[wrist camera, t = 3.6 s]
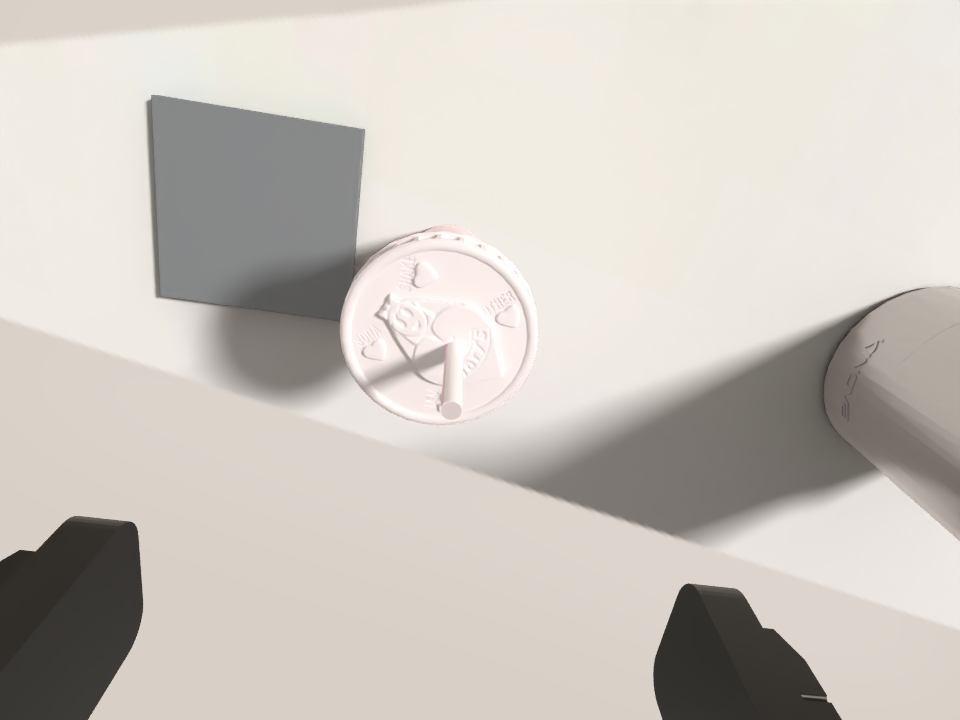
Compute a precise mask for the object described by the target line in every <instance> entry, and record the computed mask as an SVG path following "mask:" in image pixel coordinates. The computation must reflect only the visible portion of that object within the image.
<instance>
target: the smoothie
mask: <svg viewBox="0 0 960 720" xmlns="http://www.w3.org/2000/svg"><path fill="white" fill-rule="evenodd" d="M538 338H539V332H538V320H537V309H536V306H535V303H534V300H533V297H532V294H531V291H530V288H529V285H528V284H527V282H526V281H525V279H524V278H523V276H522V275H521V273H520V272H519V270H518V269H517V267H516V266H515V265H514V264H513V263H512V262H511V261H510V260H509V259H507V258H506V257H505V256H504V255H503V254H502V253H501V252H499V251H498V250H497V249H496V248H495V247H492V246H490V245H488V244H486V243H484V242H482V241H480V240H479V239H478V238H477V237H476V236H475V235H474V234H473V233H471V232H470V231H468V230H466V229H464V228H462V227H459V226H455V225H439V226H435V227H433V228H430V229H428V230H427V231H425V232H424V233H416V234H413V235H410V236H407V237H404V238H402V239H399V240H396V241H393V242H391V243H390V244H388V245H387V246H385V247H384V248H383V249H381V250H380V251H378V252H377V253H375V254H374V255H373V256H371V257H370V258H369V259H368V261H367V262H366V263H365V264H364V266H363V267H362V268H361V269H360V271H359V272H358V273H357V274H356V275H355V277H354V279H353V281H352V284H351V286H350V289H349V291H348V293H347V296H346V298H345V302H344V305H343V309H342V314H341V319H340V341H341V347H342V351H343V355H344V358H345V361H346V364H347V366H348V368H349V370H350V372H351V374H352V376H353V377H354V379H355V381H356V382H357V383H358V385H359V386H360V387H361V389H362V390H363V391H364V392H365V393H366V394H367V395H368V396H369V397H370V398H371V399H372V400H373V401H374V402H376V403H377V404H378V405H380V406H381V407H383V408H384V409H386V410H387V411H389V412H391V413H393V414H395V415H397V416H399V417H402V418H404V419H407V420H410V421H414V422H418V423H423V424H430V425H452V424H459V423H464V422H468V421H472V420H475V419H478V418H480V417H482V416H485V415H487V414H489V413H491V412H492V411H494V410H496V409H497V408H499V407H500V406H502V405H503V404H504V403H505V402H507V401H508V400H509V399H510V398H511V397H512V396H513V395H514V394H515V393H516V392H517V391H518V389H519V388H520V387H521V386H522V384H523V383H524V381H525V380H526V378H527V376H528V374H529V372H530V370H531V368H532V365H533V363H534V360H535V356H536V352H537V347H538Z"/></svg>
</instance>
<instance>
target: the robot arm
mask: <svg viewBox="0 0 960 720" xmlns="http://www.w3.org/2000/svg"><path fill="white" fill-rule="evenodd" d="M824 403H825V408H826V413H827V415H828V418H829V420H830V422H831V424H832V426H833V427H834V429H835V430H836V431H837V432H838V433H839V434H840V435H841V436H842V437H843V439H845V440H846V441H847V442H848V443H849V444H850V445H851V446H853V447H854V448H855V449H856V450H857V451H858V452H859V453H861V454H862V455H863V456H864V457H865V458H866V459H867V460H869V461H870V462H871V463H872V464H873V465H874V466H875V467H877V468H878V469H879V470H880V471H881V472H882V473H883V474H884V475H886V476H887V477H888V478H889V479H890V480H891V481H892V482H893V483H894V484H895V485H896V486H898V487H899V488H900V489H901V490H902V491H903V492H904V493H906V494H907V495H908V496H909V497H910V498H911V499H912V500H914V501H915V502H916V503H917V504H918V505H919V506H920V507H922V508H923V509H924V510H925V511H926V512H927V513H928V514H930V515H931V516H932V517H933V518H934V519H935V520H936V521H938V522H939V523H940V524H941V525H942V526H943V527H945V528H946V529H947V530H948V531H949V532H950V533H951V534H953V535H954V536H955V537H956V538H957V539H958V540H959V541H960V288H955V287H949V286H948V287H928V288H924V289H920V290H916V291H912V292H908V293H905V294H903V295H901V296H899V297H896V298H894V299H892V300H889V301H887V302H886V303H884V304H883V305H881V306H879V307H878V308H876V309H875V310H873V311H872V312H870V313H869V314H868V315H866V316H865V317H864V318H863V319H862V320H861V321H860V322H859V323H858V324H857V325H855V326H854V327H853V328H852V329H851V331H850V332H849V333H848V334H847V336H846V337H845V338H844V340H843V341H842V342H841V343H840V345H839V346H838V348H837V350H836V352H835V354H834V356H833V358H832V360H831V362H830V364H829V367H828V371H827V374H826V377H825V382H824ZM142 613H143V594H142V580H141V566H140V552H139V539H138V531H137V527H136V526H135V524H134V523H132V522H127V521H118V520H110V519H101V518H91V517H82V516H74V517H71V518H69V519H68V520H66V521H65V522H64V523H63V524H62V525H61V526H60V527H59V528H58V529H57V530H56V531H55V532H54V533H53V534H52V535H51V536H50V537H49V538H48V539H47V540H46V541H45V542H44V544H43V545H42V546H41V547H40V548H39V549H38V550H37V551H36V552H34V551H25V550H19V551H17V552H16V553H14V554H12V555H11V556H9V557H7V558H5V559H3V560H2V561H1V562H0V720H88V719H89V717H90V715H91V714H92V712H93V710H94V709H95V707H96V705H97V704H98V702H99V701H100V699H101V697H102V696H103V694H104V692H105V691H106V689H107V687H108V686H109V684H110V683H111V681H112V679H113V678H114V676H115V674H116V673H117V671H118V670H119V668H120V666H121V665H122V663H123V661H124V660H125V658H126V657H127V655H128V653H129V651H130V650H131V648H132V646H133V643H134V641H135V639H136V636H137V633H138V630H139V627H140V623H141V618H142ZM653 674H654V675H653V676H654V690H655V695H656V700H657V704H658V707H659V710H660V713H661V716H662V719H663V720H842V719H841V718H840V716H839V714H838V713H837V712H836V710H835V708H834V706H833V705H832V703H829V702H827V698H826V697H827V695H826V693H825V692H824V690H823V688H822V687H821V685H820V684H819V682H818V680H817V679H816V677H815V676H814V674H813V672H812V671H811V669H810V667H809V666H808V664H807V663H806V661H805V660H804V659H803V658H802V657H801V656H800V655H799V654H798V653H797V652H796V651H795V650H794V649H793V648H792V647H791V646H790V645H789V644H788V643H787V642H786V641H785V640H784V639H783V638H782V637H781V636H780V635H779V634H778V633H777V632H776V631H775V630H774V629H767V628H762V626H761V624H760V622H759V621H758V619H757V617H756V615H755V614H754V612H753V610H752V609H751V607H750V605H749V603H748V602H747V600H746V598H745V597H744V595H743V594H742V593H741V592H740V591H739V590H737V589H734V588H725V587H715V586H706V585H697V584H686V585H684V586H683V587H682V588H681V590H680V591H679V594H678V596H677V599H676V601H675V604H674V607H673V610H672V613H671V615H670V618H669V621H668V623H667V626H666V629H665V632H664V634H663V637H662V640H661V643H660V645H659V648H658V651H657V654H656V657H655V663H654V673H653Z"/></svg>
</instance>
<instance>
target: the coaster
mask: <svg viewBox="0 0 960 720" xmlns="http://www.w3.org/2000/svg"><path fill="white" fill-rule="evenodd" d="M151 100H152V122H153V144H154V165H155V187H156V209H157V231H158V253H159V275H160V296H164V297H171V298H178V299H185V300H192V301H199V302H207V303H214V304H221V305H228V306H235V307H242V308H250V309H257V310H264V311H271V312H278V313H285V314H293V315H300V316H307V317H314V318H321V319H328V320H336V321H340V319H341V314H342V309H343V305H344V302H345V298H346V296H347V293H348V291H349V289H350V286H351V284H352V281H353V275H354V262H355V250H356V237H357V224H358V212H359V199H360V187H361V174H362V161H363V149H364V136H365V129H359V128H353V127H347V126H341V125H335V124H328V123H322V122H316V121H310V120H304V119H298V118H292V117H286V116H280V115H274V114H268V113H262V112H256V111H250V110H244V109H238V108H231V107H225V106H219V105H213V104H207V103H201V102H195V101H189V100H183V99H177V98H171V97H165V96H159V95H151Z"/></svg>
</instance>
